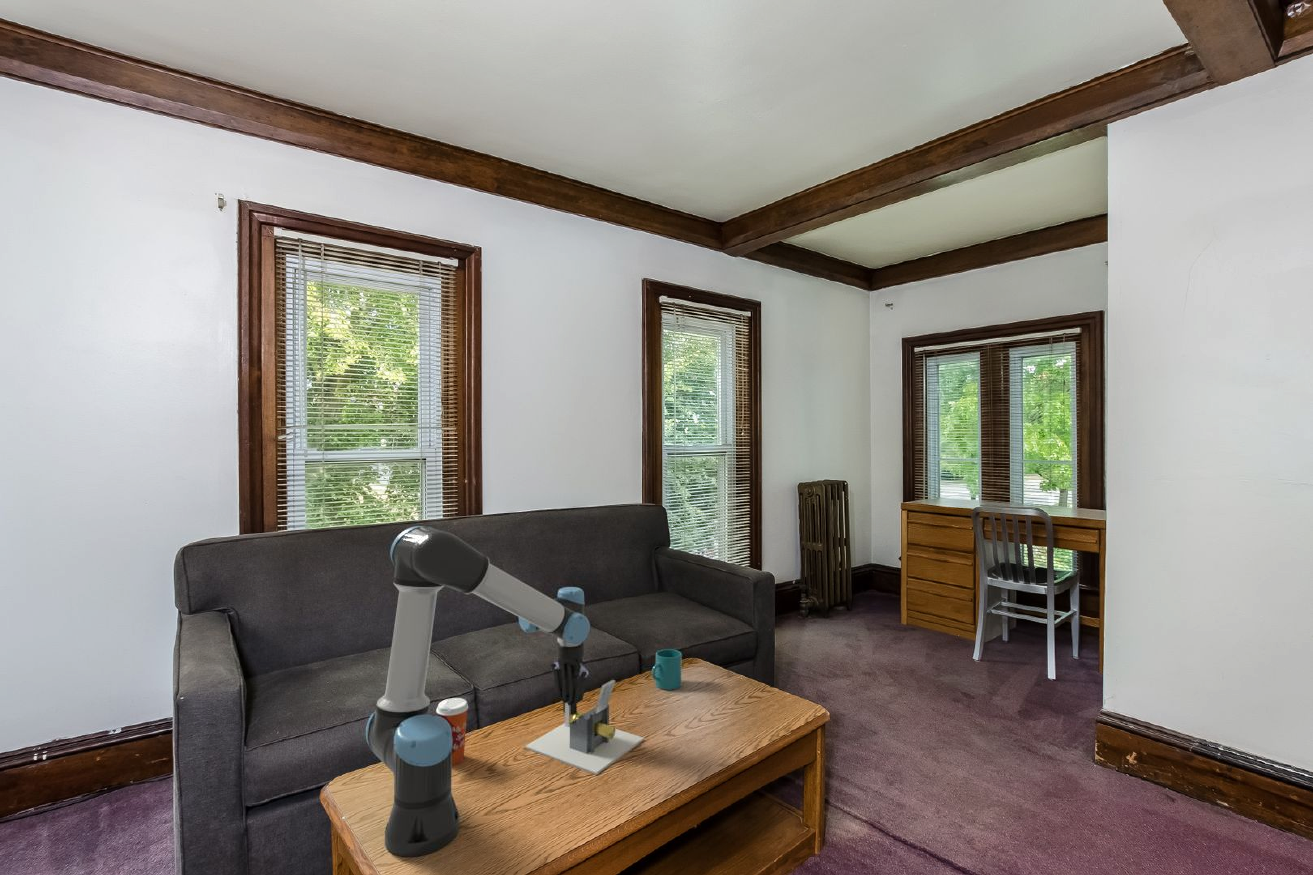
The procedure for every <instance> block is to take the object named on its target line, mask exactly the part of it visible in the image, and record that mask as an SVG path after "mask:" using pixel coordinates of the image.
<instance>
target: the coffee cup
mask: <svg viewBox="0 0 1313 875" xmlns="http://www.w3.org/2000/svg"><path fill="white" fill-rule="evenodd" d="M468 709H469V705H468V702H467V700H466V699H465V698H461V697H452V698H447V699H444V700H442V701H440V702H439V703H438V705H437V707H436V711H435V712H436V714H437V716H439V717H442V718H444V719H445V720H446V721H447V722H448V723H449V724H450V727H451V732H452V738H453V744H452V766H454V765H455V766H456V765H457V764H460V763H461V762H463V760H464V758H465V746H466V745H465V744H466V733H467V732H466V731H467V720H468V719H467V718H468V717H467V716H468Z"/></svg>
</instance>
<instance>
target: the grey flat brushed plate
mask: <svg viewBox="0 0 1313 875" xmlns="http://www.w3.org/2000/svg"><path fill="white" fill-rule="evenodd" d="M615 683H616V680H614V679H611V680H610V681H608V682H606V683H604V684H602V685H601V687H600V688H601V689H600V690H599V692H600V693H598V694H599V695H598V698H597V702H596V703H595V707H594V708H595V709H594V713H595V714H597V713H598V712H600V711H602V710H603V709H605V708H607V705H609V701H610V698H611V696H612V693H613V689H614V686H615Z"/></svg>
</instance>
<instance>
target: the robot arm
mask: <svg viewBox="0 0 1313 875" xmlns="http://www.w3.org/2000/svg"><path fill="white" fill-rule="evenodd" d="M389 554H390V560H391V562H392V565H393V566H394V576H393V585H394V587H395V588H396V589H397V590H398V597H397V606H396V611H395V612H396V613H395V619H394V628H393V635H392V642H391V649H390V657H389V663H388V664H389V665H388V671H387V679H386V685H385V693H384V694H383V696H381V697H380V698H379V699H378V700H377V701H376V707H375V711H374V712H372V713H371V714H370V716H369V718H368V720H367V723H366V727H365V740H366V742H367V744H368V745H367V746H368V747H369V749H370V751H371V752H372V754H373V755H375V756H376V757H377V758H378V759H379V760H380V761H381V762H382V763H383V764H384V765H385V766H386V767H387V768H388V769H389V770H390V771H391V772H392V773H393V778H394V779H393V781H394V782H393V786H394V788H393V789H394V790H393V805H392V808H391V812H390V814H389V818H388V822H387V824H386V827H385V829H384V845H385V848H386V849H387V850H388V851H389V852H390V853H391V854H393V855H397V856H402V857H418V856H423V855H427V854H431V853H433V852H436V851H438V850H440V849H442V848H444V847H445V846H447V845H448V844H449V843H451V842H452V841H453V840H454V839H455V837H456V836H457V835H458V833H459V830H460V814H459V810H458V808H457V805H456V802H455V800H454V796H453V792H452V768H453V765H452V744H453V738H452V732H451V727H450V724H449V723H448V722H447V721H446V720H445V719H444V718H442V717H439V716H438V715H432V714H429V712H430V704H431V701H430V698H429V697H428V696H427V695H426V694H425V688H426V681H427V675H428V666H429V659H430V650H431V644H432V636H433V627H434V620H435V614H436V613H435V612H436V605H437V598H438V592H440V590H442V589H443V588H444V587H447V588H450V589H453V590H454V591H455V590H456V591H458V592H460V593H462V594H464V595H469V594H474V595H475V596H478V597H479V598H481V599H483V600H485V601H488V602H489V603H492V604H493V605H495V606H497V607H499V608H501V609H503V610H505V611H506V612H509V613H510V614H513V615H514V616H517V617H518V623H519V626H520V628H521V629H522V631H523V632H525V633H535V632H538V631H540V632H543V633H545V634H547V635H550V636H554V637H555V638H556V639H557V640H556V641H557V642H558V643H557V646H556V648H557V653H556V654H557V655H556V656H557V657H558V658H557V661H555V662H553V663H552V664H551V665H550V667H551V670H552V672H553V677H554V683H555V689H556V696H557V699H560V700H562V702H563V703H562V704H563V708H562V710H563V714H564V723H565V726H566V727H570V719H571V717H572V715H573V714H574V713H575V712H576V711H578V710H577V708H578V705H577V704H578V703H581V702H582V701H583V700H584V695H585V691H586V687H587V681H588V677H589V676H590V675H591V670H590V669H589V668H588V669H587V668H586V667H585V666H584V661H583V657H584V654H585V653H584V652H585V650H584V649H585V648H584V647H585V646H584V641H585V640H586V639H587V637H588V635H589V633H590V630H591V624H590V620H589V619H588V618H587V616H586V615H585V605H586V603H585V594H584V593H585V592H584V590H583V589H582V588H580V587H576V586H575V587H574V586H565V587H562V588H559V589H558V591H557V597H555V598H552V597H549V596H548V595H546V594H544V593H542V592H541V591H539V590H537V589H536V588H533V587H532V586H530V585H528V584H526V583H525V582H523V581H521V580H519V579H518V578H516V577H514V576H513V575H511V574H509V573H507V572H506V571H504V570H502V569H500V568H498V567H497V566H495V565H494V564H491V563H490V558H489V557H488V556H487V555H485V554H483V553H482V552H480V551H478V550H477V549H476V548H474V547H473V546H471V545H470V544H468V543H467V542H465V541H464V540H462V539H461V538H459V537H458V536H457V535H455V534H453V533H451V532H449V531H448V532H447V531H445V530H439V529H436V528H434V527H431V526H425V525H424V526H421V525H420V526H418V525H417V526H411V527H408V528H406V529H405V530H403V531H401V533H399V534H398V535H397V537H396V538H395V539H394V540H393V542H392V544H391V547H390V552H389Z"/></svg>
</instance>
